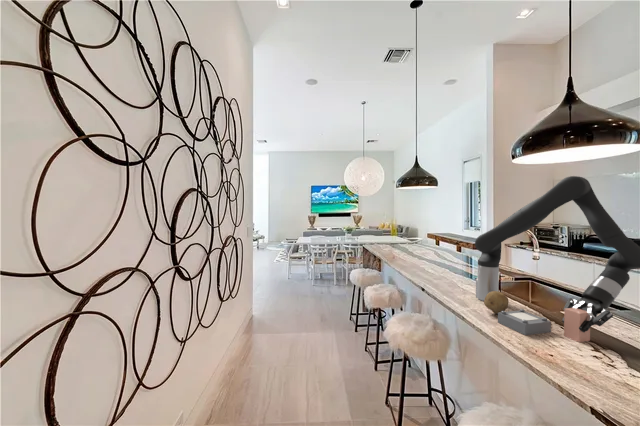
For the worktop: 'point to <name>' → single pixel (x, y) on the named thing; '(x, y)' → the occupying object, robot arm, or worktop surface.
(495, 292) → the brown round lump
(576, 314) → the coral brick
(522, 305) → the worktop surface
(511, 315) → the base brick
